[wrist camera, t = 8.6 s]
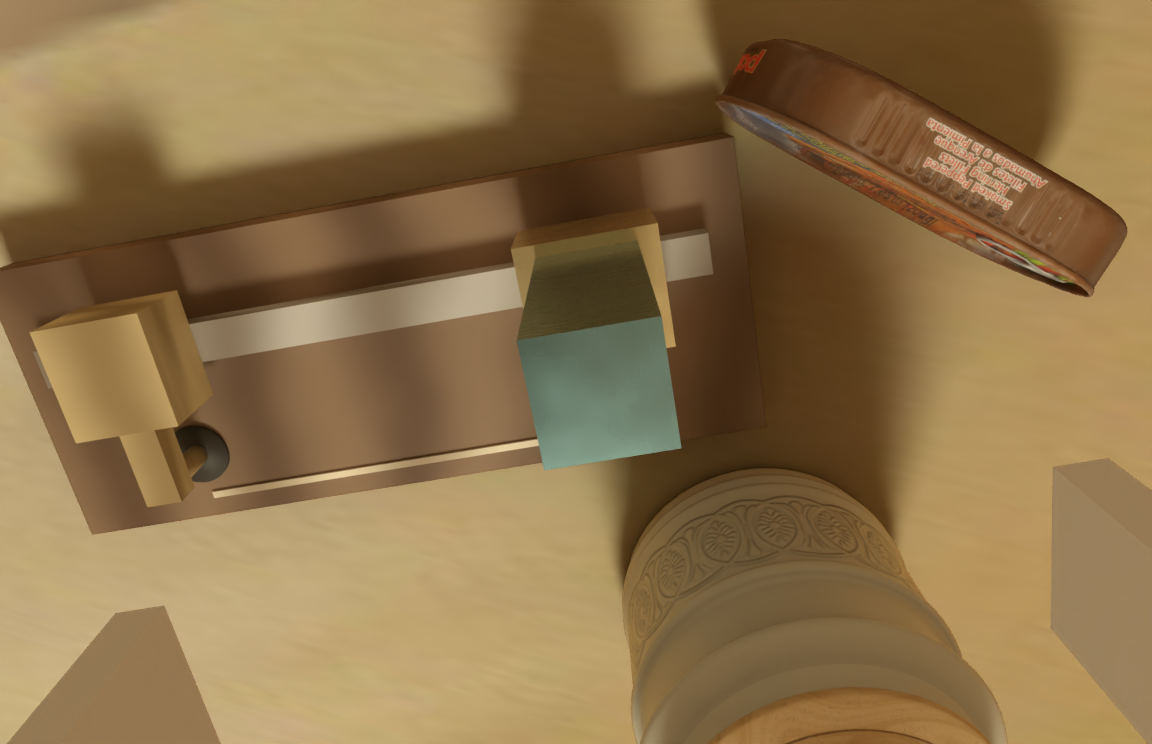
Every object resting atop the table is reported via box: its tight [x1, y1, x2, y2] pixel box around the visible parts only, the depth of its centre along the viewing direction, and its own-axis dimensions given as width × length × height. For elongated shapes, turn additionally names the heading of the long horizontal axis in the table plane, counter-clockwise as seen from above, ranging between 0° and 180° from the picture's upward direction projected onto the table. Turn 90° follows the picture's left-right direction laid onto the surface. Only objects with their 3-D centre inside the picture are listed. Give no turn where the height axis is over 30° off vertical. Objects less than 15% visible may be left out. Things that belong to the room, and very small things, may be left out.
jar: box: [622, 468, 1008, 744], centre depth 33 cm, size 13×13×18 cm
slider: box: [511, 208, 681, 470], centre depth 28 cm, size 5×8×13 cm, turn 10°
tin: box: [715, 39, 1127, 297], centre depth 30 cm, size 15×3×8 cm, turn 63°
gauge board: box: [0, 133, 766, 535], centre depth 34 cm, size 30×12×6 cm, turn 100°
